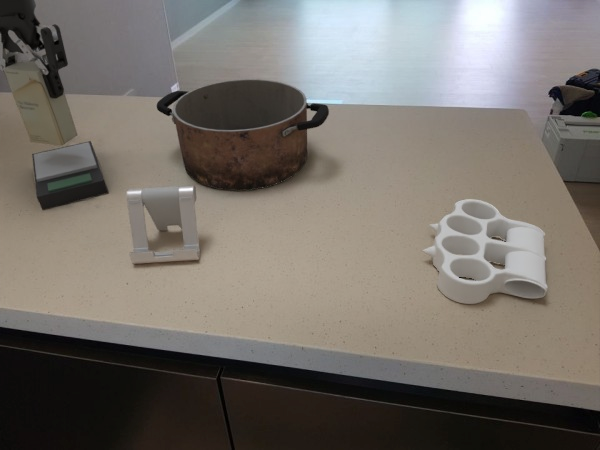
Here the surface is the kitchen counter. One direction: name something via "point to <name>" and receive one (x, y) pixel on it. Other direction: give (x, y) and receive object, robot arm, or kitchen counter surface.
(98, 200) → the kitchen counter surface
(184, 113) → the cooking pot
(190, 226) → the tablet stand
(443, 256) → the white brass knuckles
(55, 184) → the scale
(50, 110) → the cosmetic box
